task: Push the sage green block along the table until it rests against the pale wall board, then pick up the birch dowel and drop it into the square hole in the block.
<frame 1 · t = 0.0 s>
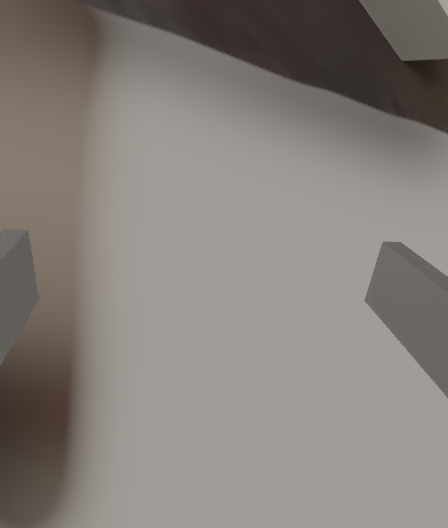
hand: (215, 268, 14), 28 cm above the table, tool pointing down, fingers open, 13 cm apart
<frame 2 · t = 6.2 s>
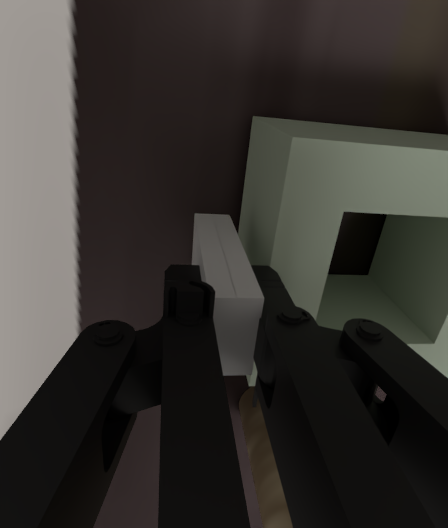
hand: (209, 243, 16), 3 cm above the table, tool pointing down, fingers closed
birch dowel: (267, 402, 25), on the table
sage green block: (358, 251, 17), point 3 cm above the table, slide at 3.6 cm, touching gripper
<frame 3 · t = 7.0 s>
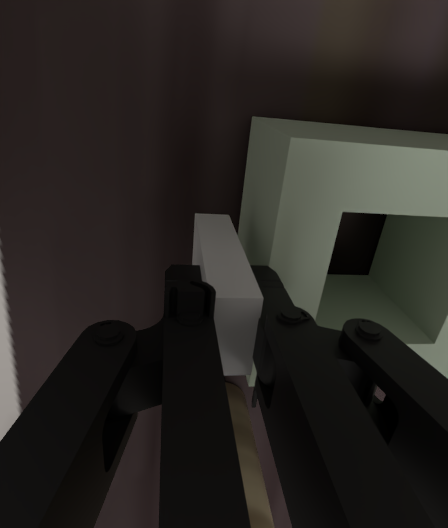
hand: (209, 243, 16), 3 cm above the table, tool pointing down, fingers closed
birch dowel: (215, 403, 25), on the table
sage green block: (358, 251, 17), point 3 cm above the table, slide at -0.1 cm, touching gripper
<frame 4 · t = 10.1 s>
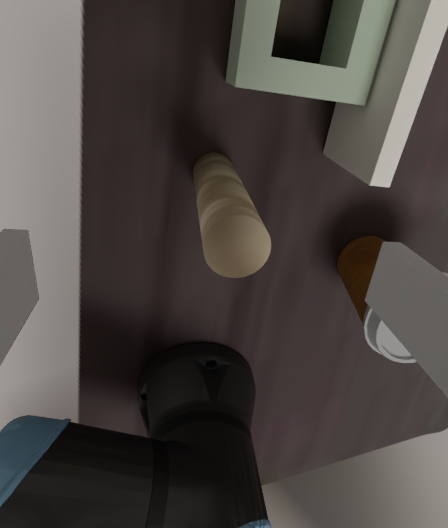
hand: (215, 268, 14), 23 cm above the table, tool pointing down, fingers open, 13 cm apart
birch dowel: (213, 173, 35), on the table
pale wall board: (362, 35, 31), on the table
disposable coffee cup: (362, 259, 42), on the table
sage green block: (305, 19, 27), point 3 cm above the table, slide at 0.0 cm
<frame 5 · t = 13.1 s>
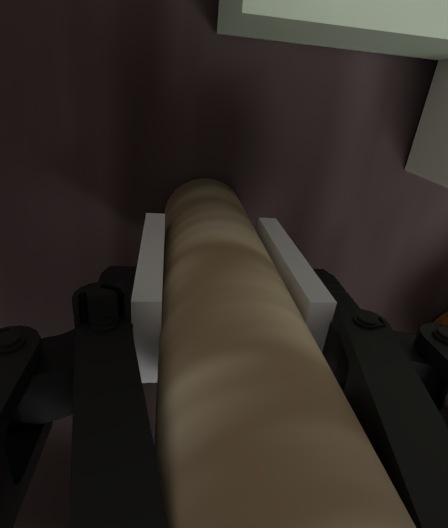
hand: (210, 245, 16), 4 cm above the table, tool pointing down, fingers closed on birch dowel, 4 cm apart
birch dowel: (203, 216, 19), on the table, touching gripper
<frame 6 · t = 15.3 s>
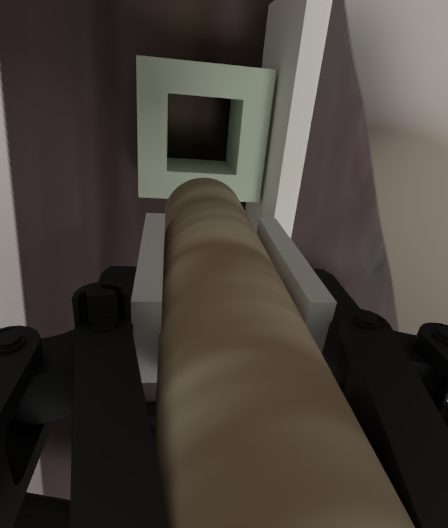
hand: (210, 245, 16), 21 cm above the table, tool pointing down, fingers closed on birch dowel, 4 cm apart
birch dowel: (203, 216, 19), point 18 cm above the table, touching gripper
pale wall board: (262, 132, 35), on the table
sage green block: (200, 131, 31), point 3 cm above the table, slide at 0.0 cm
when the fingers open (8 cm above the table, at t = 17.8 s): birch dowel drops 4 cm, resting in sage green block.
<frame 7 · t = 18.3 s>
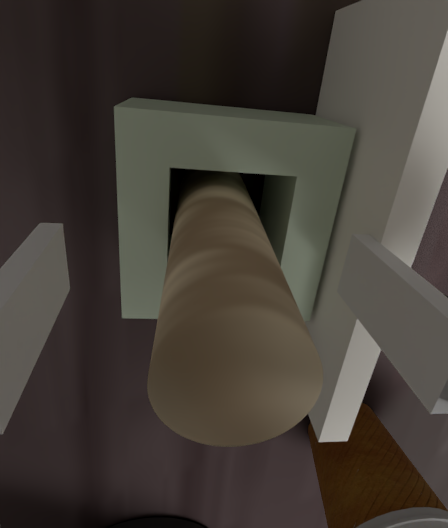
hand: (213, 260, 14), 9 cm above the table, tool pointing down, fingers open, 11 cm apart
birch dowel: (212, 192, 23), resting in sage green block
pale wall board: (311, 199, 24), on the table
disposable coffee cup: (340, 422, 34), on the table
sage green block: (222, 210, 20), point 3 cm above the table, slide at 0.0 cm
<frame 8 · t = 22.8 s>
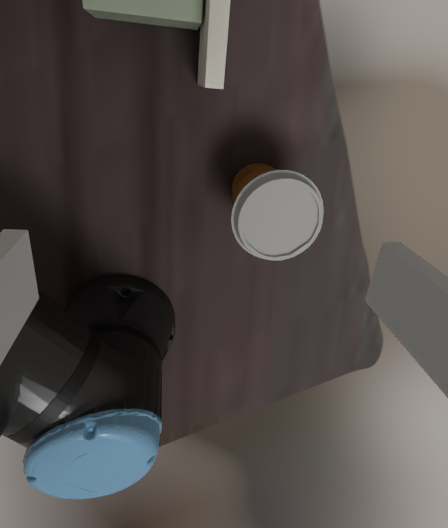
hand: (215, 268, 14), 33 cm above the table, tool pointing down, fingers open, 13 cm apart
disposable coffee cup: (255, 187, 47), on the table
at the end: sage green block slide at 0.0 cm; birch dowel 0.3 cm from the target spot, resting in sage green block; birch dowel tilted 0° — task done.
